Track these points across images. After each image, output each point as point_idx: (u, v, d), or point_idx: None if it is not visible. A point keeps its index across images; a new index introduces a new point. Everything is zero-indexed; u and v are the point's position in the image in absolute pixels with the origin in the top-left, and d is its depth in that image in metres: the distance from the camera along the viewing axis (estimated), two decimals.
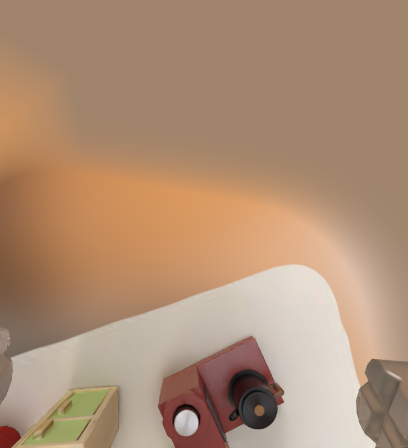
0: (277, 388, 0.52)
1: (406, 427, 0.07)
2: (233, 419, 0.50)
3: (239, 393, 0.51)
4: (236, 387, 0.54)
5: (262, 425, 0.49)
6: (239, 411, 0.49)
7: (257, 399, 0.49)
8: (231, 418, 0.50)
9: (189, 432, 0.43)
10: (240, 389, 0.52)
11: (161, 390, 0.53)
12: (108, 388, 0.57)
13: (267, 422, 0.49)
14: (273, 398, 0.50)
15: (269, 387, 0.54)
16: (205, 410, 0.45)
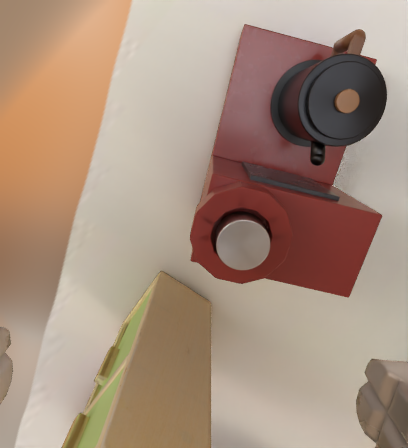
0: (346, 40, 0.23)
1: (406, 428, 0.07)
2: (321, 159, 0.24)
3: (294, 116, 0.24)
4: (285, 116, 0.27)
5: (374, 116, 0.22)
6: (318, 138, 0.23)
7: (328, 89, 0.22)
8: (316, 161, 0.24)
9: (262, 253, 0.20)
10: (290, 110, 0.25)
11: None
12: (153, 284, 0.36)
13: (378, 103, 0.22)
14: (353, 58, 0.22)
15: None
16: (255, 195, 0.20)
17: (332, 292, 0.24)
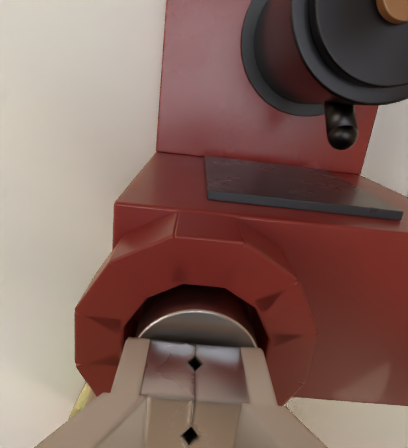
0: None
1: (192, 412, 0.06)
2: (350, 135, 0.12)
3: (285, 53, 0.12)
4: (269, 64, 0.14)
5: None
6: (342, 93, 0.11)
7: None
8: (342, 140, 0.12)
9: None
10: (277, 44, 0.12)
11: None
12: None
13: None
14: None
15: None
16: (213, 251, 0.08)
17: (405, 403, 0.12)
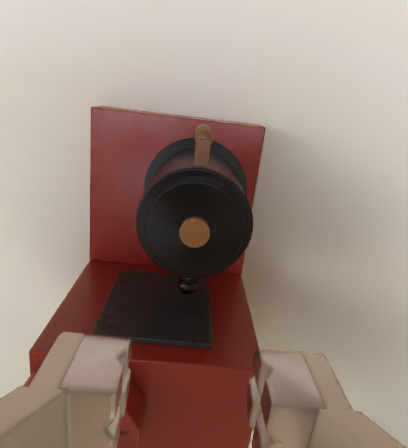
0: None
1: (267, 417, 0.06)
2: (189, 289, 0.19)
3: None
4: None
5: (237, 243, 0.17)
6: (175, 272, 0.18)
7: (167, 219, 0.16)
8: (184, 291, 0.19)
9: None
10: None
11: None
12: None
13: (238, 227, 0.16)
14: (196, 173, 0.16)
15: None
16: None
17: None
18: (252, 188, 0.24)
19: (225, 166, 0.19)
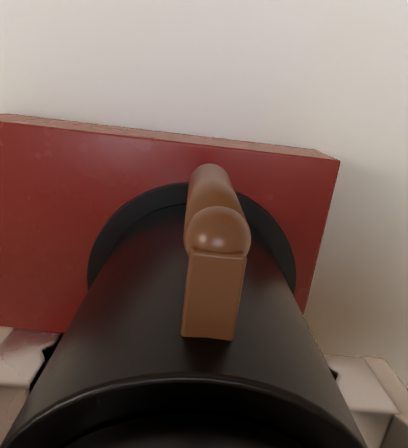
0: None
1: None
2: None
3: None
4: None
5: None
6: None
7: None
8: None
9: None
10: None
11: None
12: None
13: None
14: (190, 393, 0.04)
15: None
16: None
17: None
18: (306, 279, 0.12)
19: (269, 278, 0.07)
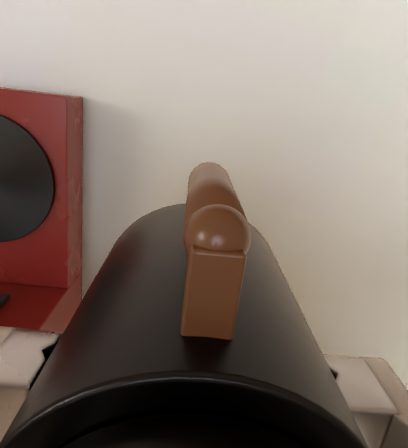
0: None
1: None
2: None
3: None
4: None
5: None
6: None
7: None
8: None
9: None
10: None
11: None
12: None
13: None
14: (190, 392, 0.04)
15: None
16: None
17: None
18: (63, 177, 0.18)
19: (269, 277, 0.07)
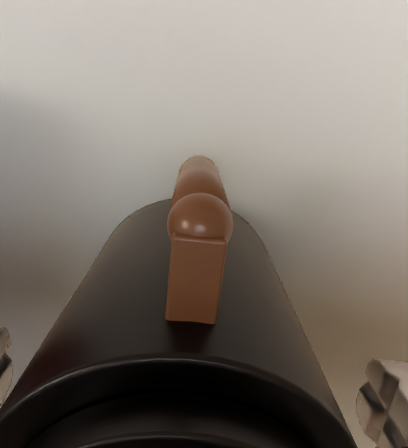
0: None
1: (407, 428, 0.07)
2: None
3: None
4: None
5: None
6: None
7: None
8: None
9: None
10: None
11: None
12: None
13: None
14: (172, 373, 0.04)
15: None
16: None
17: None
18: None
19: (257, 268, 0.07)
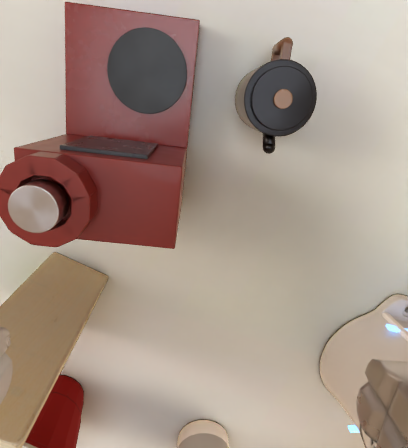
0: (279, 46, 0.28)
1: (406, 428, 0.07)
2: (271, 147, 0.29)
3: (244, 114, 0.29)
4: (240, 114, 0.32)
5: (307, 108, 0.27)
6: (265, 131, 0.28)
7: (266, 91, 0.26)
8: (268, 149, 0.29)
9: (52, 214, 0.21)
10: (242, 109, 0.29)
11: None
12: None
13: (309, 97, 0.27)
14: (284, 62, 0.26)
15: (273, 61, 0.30)
16: (43, 161, 0.21)
17: (157, 245, 0.25)
18: (192, 72, 0.31)
19: None
